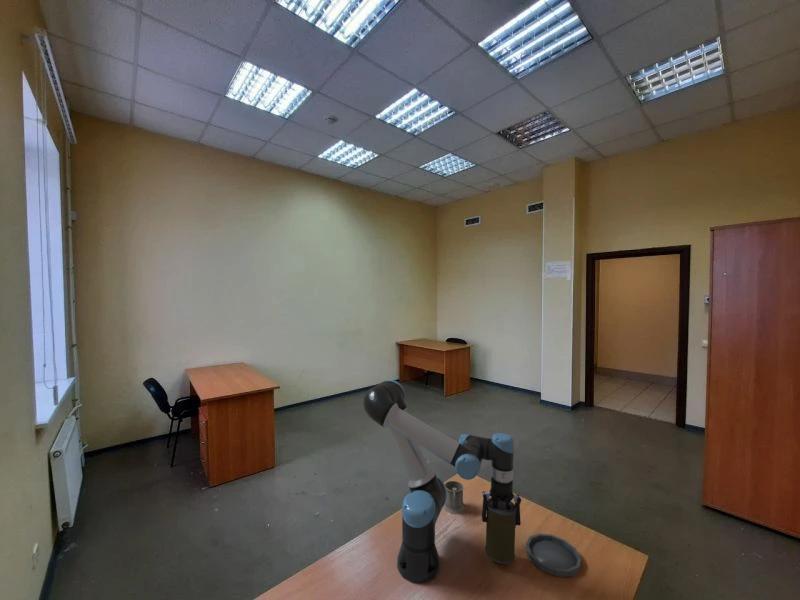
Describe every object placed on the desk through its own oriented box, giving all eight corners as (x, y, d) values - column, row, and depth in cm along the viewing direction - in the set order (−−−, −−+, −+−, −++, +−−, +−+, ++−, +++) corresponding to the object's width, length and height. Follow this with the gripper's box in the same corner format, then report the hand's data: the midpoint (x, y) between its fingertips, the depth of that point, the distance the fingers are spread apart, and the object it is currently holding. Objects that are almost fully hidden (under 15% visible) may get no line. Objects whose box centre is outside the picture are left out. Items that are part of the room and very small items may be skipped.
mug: (443, 499, 156) (443, 474, 156) (464, 501, 155) (464, 475, 155) (442, 519, 142) (443, 491, 142) (466, 521, 141) (466, 493, 141)
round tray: (534, 574, 114) (534, 568, 114) (521, 537, 132) (521, 532, 132) (589, 579, 112) (589, 573, 112) (568, 541, 129) (568, 536, 129)
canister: (516, 566, 114) (518, 509, 114) (485, 561, 116) (487, 504, 116) (512, 543, 124) (514, 491, 124) (484, 539, 126) (485, 487, 126)
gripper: (476, 481, 117) (474, 546, 117) (532, 486, 115) (530, 552, 115) (474, 470, 125) (472, 531, 125) (526, 475, 123) (524, 536, 123)
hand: (500, 541), depth 120 cm, fingers open, 6 cm apart
